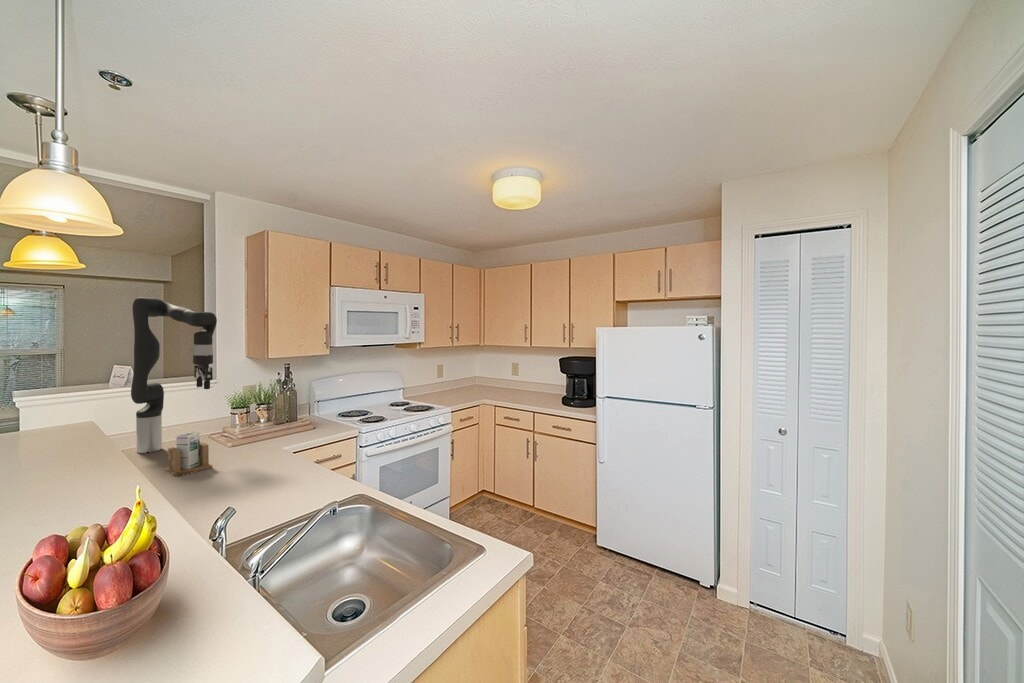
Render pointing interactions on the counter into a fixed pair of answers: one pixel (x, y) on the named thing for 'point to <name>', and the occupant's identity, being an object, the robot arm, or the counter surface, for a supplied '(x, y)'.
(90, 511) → the counter surface
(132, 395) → the robot arm
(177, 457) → the slot block
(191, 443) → the syrup box
